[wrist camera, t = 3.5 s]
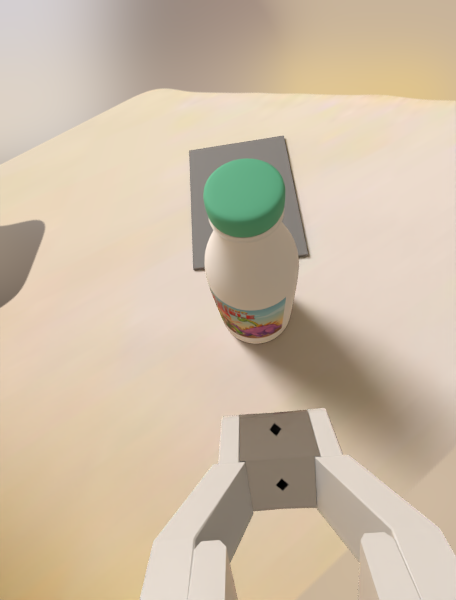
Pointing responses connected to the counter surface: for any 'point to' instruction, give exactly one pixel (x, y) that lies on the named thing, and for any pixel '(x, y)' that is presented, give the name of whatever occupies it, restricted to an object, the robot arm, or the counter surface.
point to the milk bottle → (250, 250)
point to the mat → (214, 157)
